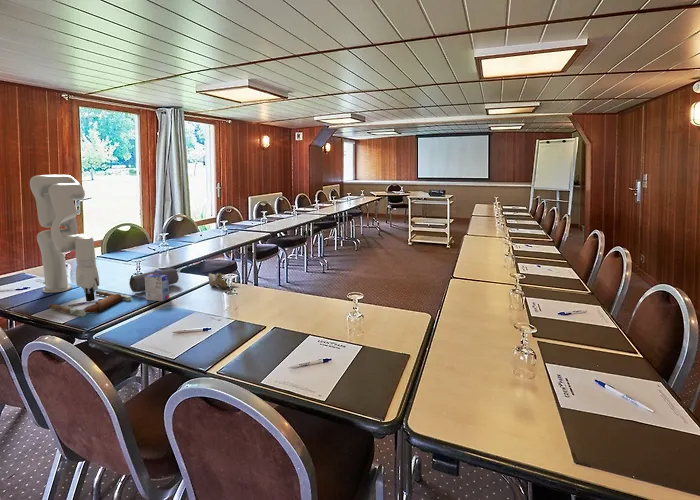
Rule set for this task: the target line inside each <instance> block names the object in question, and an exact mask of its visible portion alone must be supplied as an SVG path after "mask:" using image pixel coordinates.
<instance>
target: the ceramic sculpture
mask: <svg viewBox="0 0 700 500" xmlns="http://www.w3.org/2000/svg"><path fill="white" fill-rule="evenodd" d="M225 275H226V274H225V273H223V274H222V272H217V273H215V274H214V273H211V272H209V273H208V284H209V286H210V287H216V288H217V287H218V288H220V289H223V290H224V289H228V288H227V287H228V285H227V283H226V281H224V280H222V277H223V276H225ZM234 282H235V283H236V284H237V283H238V282H237V281H234Z"/></svg>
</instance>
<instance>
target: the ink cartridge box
mask: <svg viewBox="0 0 700 500" xmlns="http://www.w3.org/2000/svg"><path fill="white" fill-rule="evenodd" d="M153 271H154V274H150V275H147V276H145V290H146V291H145V300H146V301H153V302H154V301H156V302H157V301H158V302H164V301H167V300H170V285H169V282H168V275H160V274H161V271H159V270H158V269H156V270H153ZM155 272H159V273H155Z"/></svg>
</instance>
